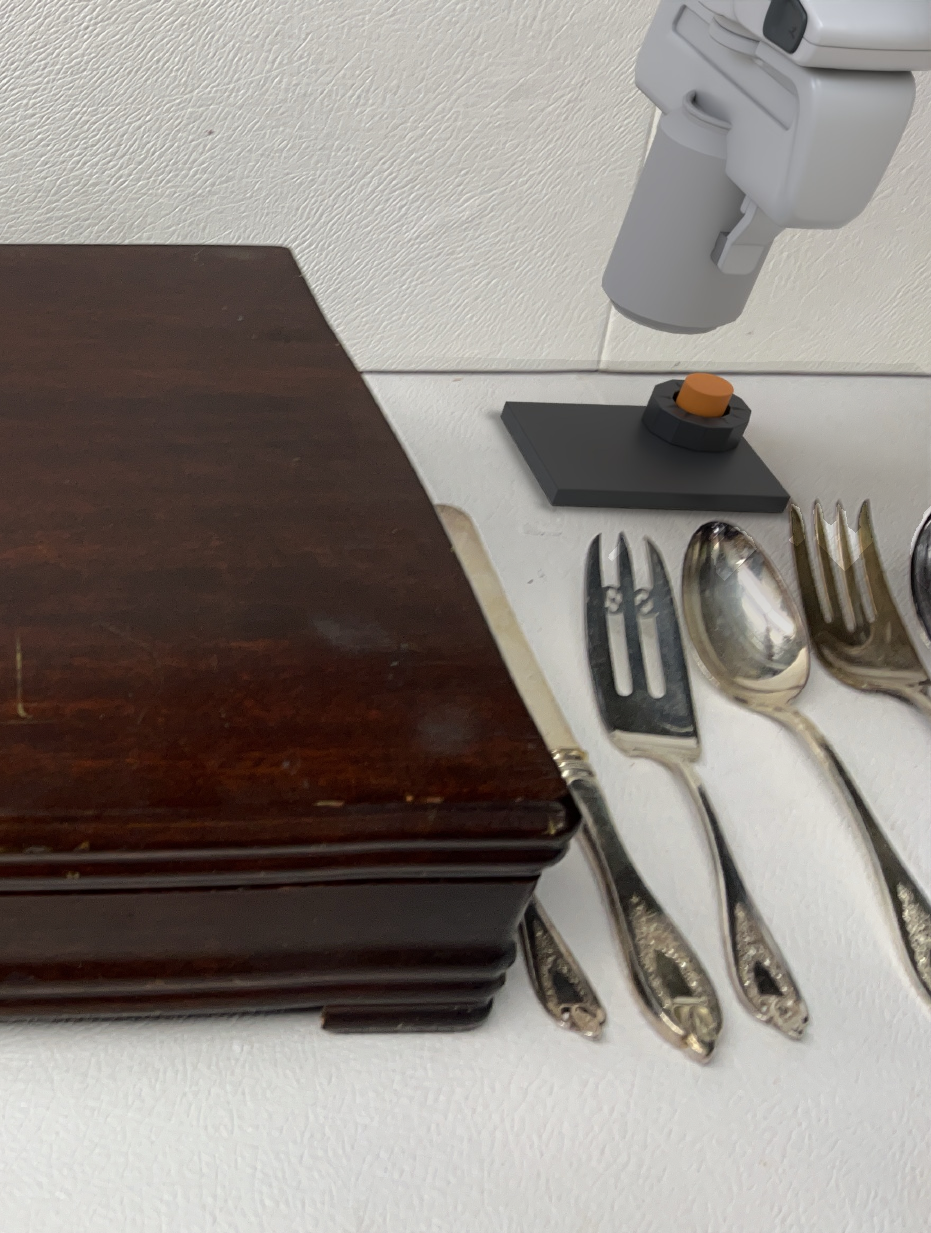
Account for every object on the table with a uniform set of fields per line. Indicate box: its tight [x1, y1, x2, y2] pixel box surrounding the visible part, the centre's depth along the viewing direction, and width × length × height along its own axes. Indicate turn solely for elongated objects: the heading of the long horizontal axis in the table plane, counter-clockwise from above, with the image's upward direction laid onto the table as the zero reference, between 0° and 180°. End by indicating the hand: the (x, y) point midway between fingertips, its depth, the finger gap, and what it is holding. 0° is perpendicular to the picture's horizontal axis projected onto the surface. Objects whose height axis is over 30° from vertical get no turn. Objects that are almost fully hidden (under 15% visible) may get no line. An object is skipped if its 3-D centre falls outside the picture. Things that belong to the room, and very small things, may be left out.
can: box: [601, 90, 776, 336], centre depth 87 cm, size 8×8×12 cm
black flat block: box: [500, 379, 792, 513], centre depth 98 cm, size 14×10×3 cm
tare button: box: [676, 372, 735, 418], centre depth 99 cm, size 3×3×2 cm
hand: (696, 232), depth 88 cm, fingers closed on can, 7 cm apart
